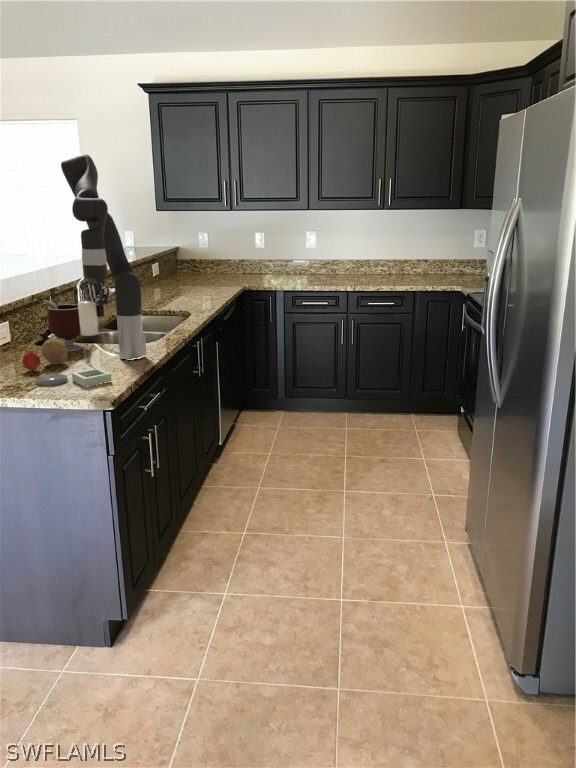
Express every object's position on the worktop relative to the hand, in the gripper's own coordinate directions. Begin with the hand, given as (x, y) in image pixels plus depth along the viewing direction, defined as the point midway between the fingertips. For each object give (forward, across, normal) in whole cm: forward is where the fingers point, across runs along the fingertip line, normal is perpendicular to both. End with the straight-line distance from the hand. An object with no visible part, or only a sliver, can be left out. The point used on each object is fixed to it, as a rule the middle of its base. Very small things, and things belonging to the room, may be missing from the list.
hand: (99, 315), depth 197 cm
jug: (+6, 0, -2) cm, 6 cm away
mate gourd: (+22, -52, +10) cm, 57 cm away
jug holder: (+22, 0, -4) cm, 22 cm away
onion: (+22, -26, -14) cm, 37 cm away
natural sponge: (+22, -30, -4) cm, 38 cm away
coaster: (+22, -9, -14) cm, 28 cm away
